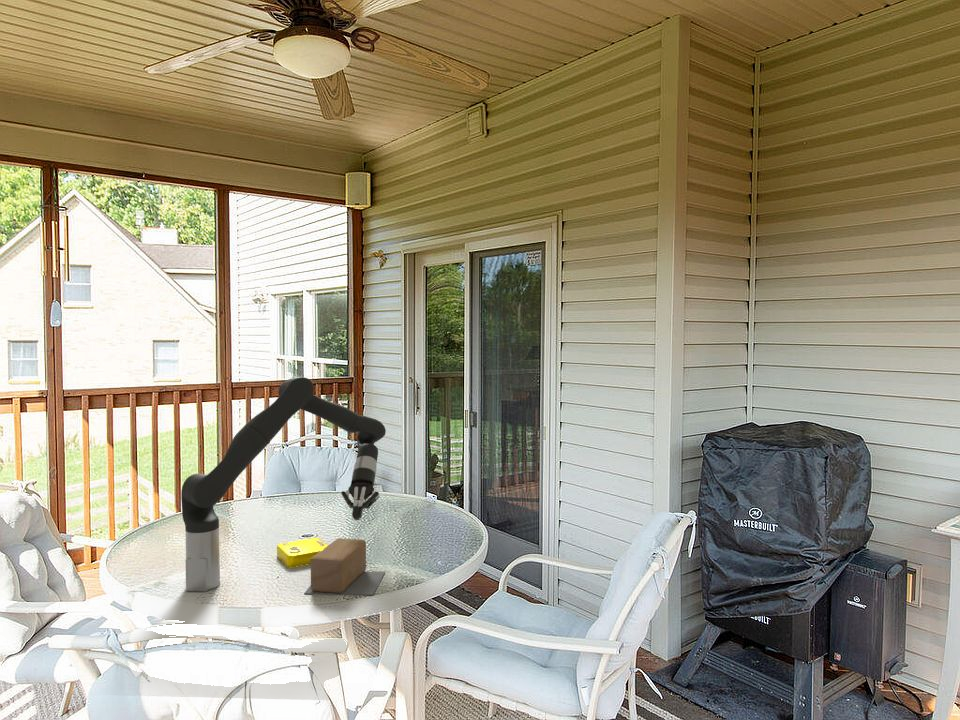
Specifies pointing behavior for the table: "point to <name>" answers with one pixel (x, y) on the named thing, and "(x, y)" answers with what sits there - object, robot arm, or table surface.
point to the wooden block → (338, 565)
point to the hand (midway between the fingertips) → (356, 518)
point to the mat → (357, 585)
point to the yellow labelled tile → (299, 551)
